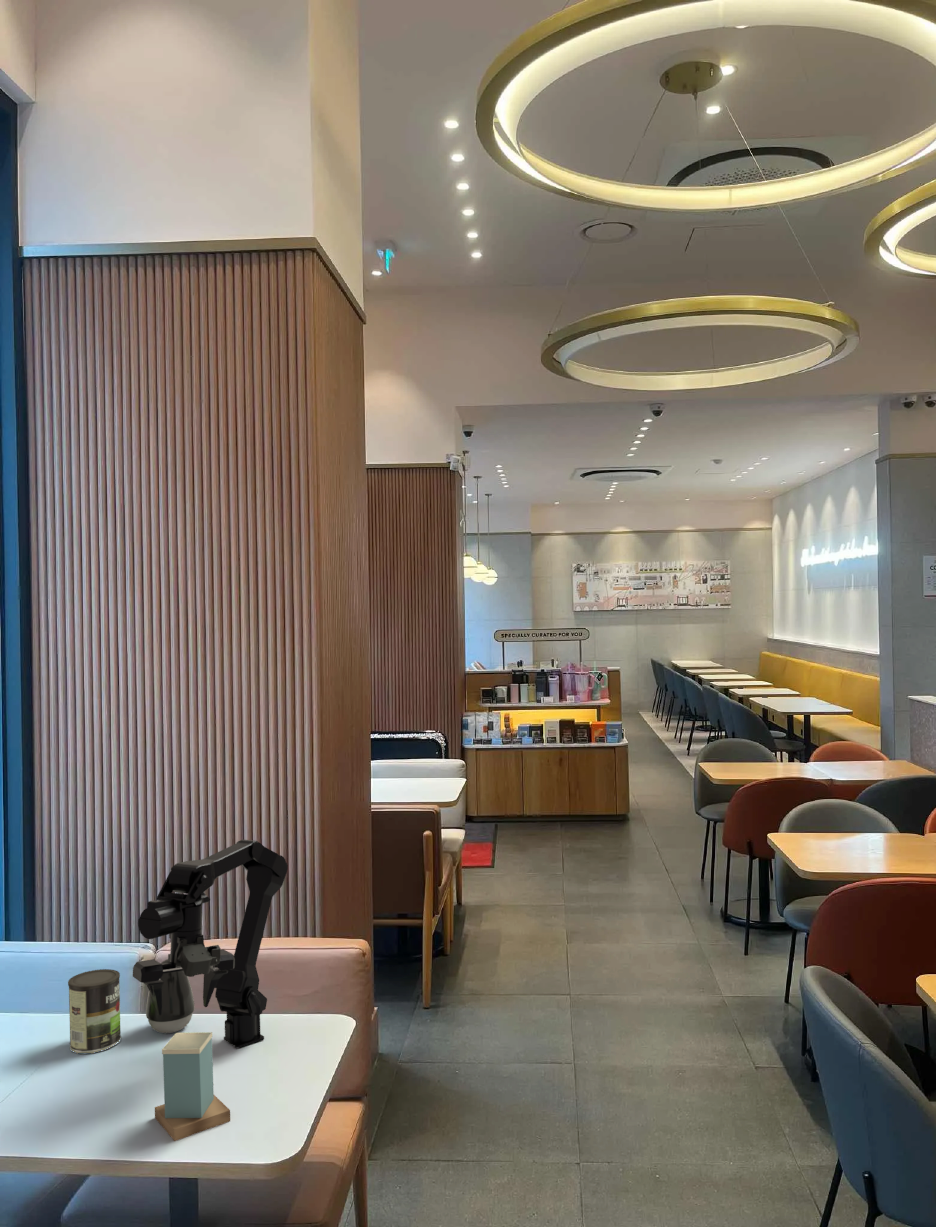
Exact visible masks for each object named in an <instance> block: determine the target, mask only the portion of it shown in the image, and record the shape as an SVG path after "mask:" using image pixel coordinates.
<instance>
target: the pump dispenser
mask: <svg viewBox="0 0 936 1227" xmlns="http://www.w3.org/2000/svg"><path fill="white" fill-rule="evenodd" d="M168 962H170V960H168V958H167V959H164V960H163V961H161V962H160V963H168ZM175 967H179V966H175ZM160 980H162V981H163V982H164V983H163V986H162V1014H161V1015H160V1016H159V1015H158V1014H157V1011H156V1008H155V1005H154V1002H153V999H152V996H151V993H150V991H149V990H148V994H147V999H146V1000H147V1001H146V1006H145V1007H146V1008H145V1009H146V1010H145V1017H146V1018H147V1022H148V1023H149V1025H150V1027H151V1028H152V1029H153V1030H154V1031H155V1032H157V1033H161V1034H173V1033H174V1034H175V1033H178V1032H180V1031H181V1030H183V1029H185V1027H187V1026H188V1024H189V1023H190V1021H191V1020H192V1017H193V1014H194V1011H195V1000H194V993H193V989H192V986H191V982H190V978H189V977H188V976H186V975H185V974H184V971H176V972H170V973H163V976H162V977H161V978H160Z"/></svg>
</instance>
